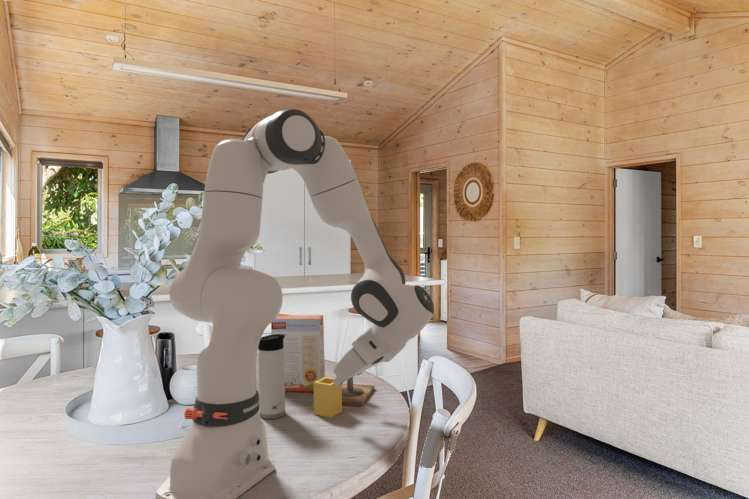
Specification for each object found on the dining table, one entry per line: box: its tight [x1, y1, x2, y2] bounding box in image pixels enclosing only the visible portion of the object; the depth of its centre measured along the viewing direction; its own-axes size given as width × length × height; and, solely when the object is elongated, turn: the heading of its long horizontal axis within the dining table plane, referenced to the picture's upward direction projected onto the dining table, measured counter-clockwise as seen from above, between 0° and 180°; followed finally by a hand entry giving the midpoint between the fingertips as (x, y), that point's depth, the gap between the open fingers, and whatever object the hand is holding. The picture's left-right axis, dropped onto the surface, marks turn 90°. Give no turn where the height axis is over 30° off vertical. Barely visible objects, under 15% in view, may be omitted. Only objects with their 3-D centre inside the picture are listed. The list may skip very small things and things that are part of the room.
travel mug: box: [257, 334, 286, 420], centre depth 129 cm, size 6×7×20 cm
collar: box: [313, 376, 343, 419], centre depth 130 cm, size 5×5×8 cm
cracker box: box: [270, 314, 326, 393], centre depth 148 cm, size 14×6×21 cm, turn 84°
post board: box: [342, 377, 375, 407], centre depth 142 cm, size 14×10×11 cm
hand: (346, 378), depth 127 cm, fingers open, 8 cm apart
